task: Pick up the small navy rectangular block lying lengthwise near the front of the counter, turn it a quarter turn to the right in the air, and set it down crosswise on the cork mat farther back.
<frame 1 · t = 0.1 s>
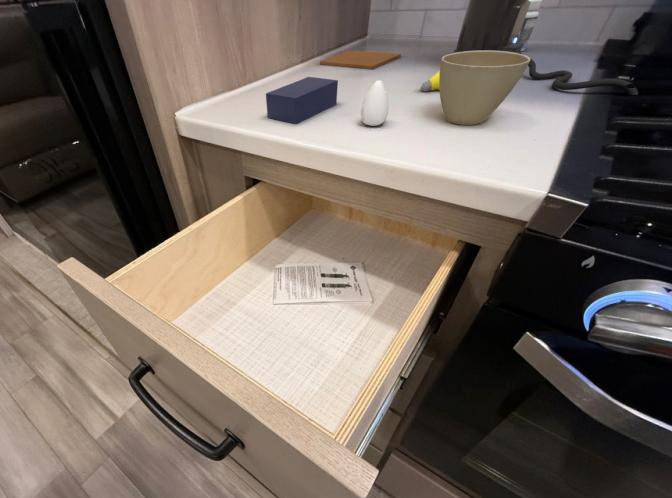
egg: (372, 125, 47), on the worktop
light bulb: (436, 91, 56), on the worktop
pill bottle: (511, 51, 72), on the worktop
mat: (359, 60, 76), on the worktop
flower pot: (463, 120, 46), on the worktop
navy rectangular block: (302, 111, 53), on the worktop
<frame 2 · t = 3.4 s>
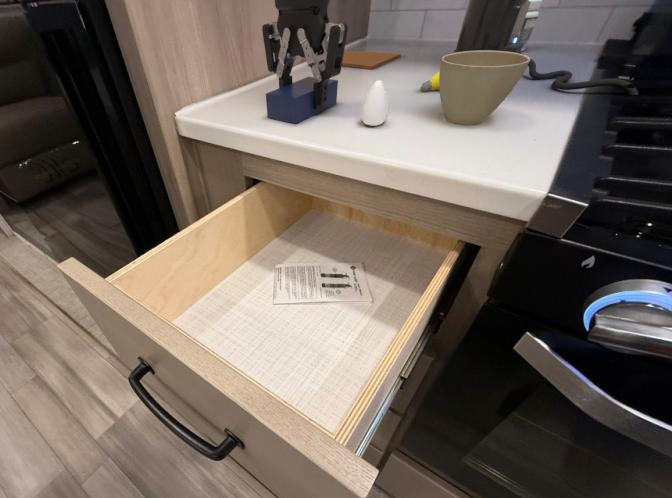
hand: (302, 105, 53), 1 cm above the worktop, tool pointing down, fingers closed on navy rectangular block, 6 cm apart
navy rectangular block: (302, 111, 53), on the worktop, touching gripper
everything else where it was.
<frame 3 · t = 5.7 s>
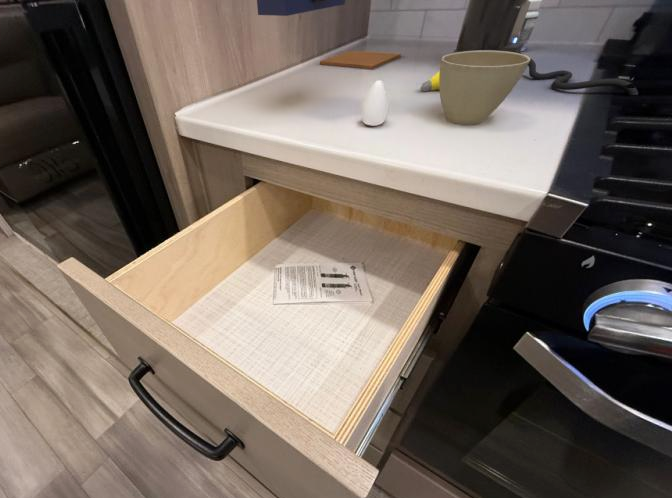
hand: (301, 1, 44), 13 cm above the worktop, tool pointing down, fingers closed on navy rectangular block, 6 cm apart
navy rectangular block: (301, 9, 45), point 13 cm above the worktop, touching gripper
everything else where it was.
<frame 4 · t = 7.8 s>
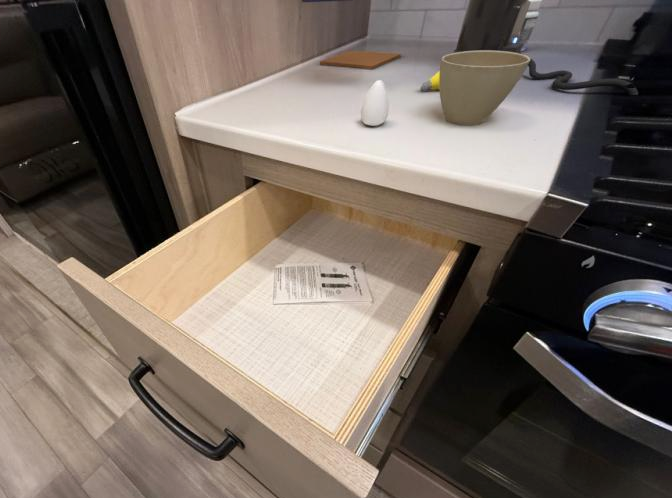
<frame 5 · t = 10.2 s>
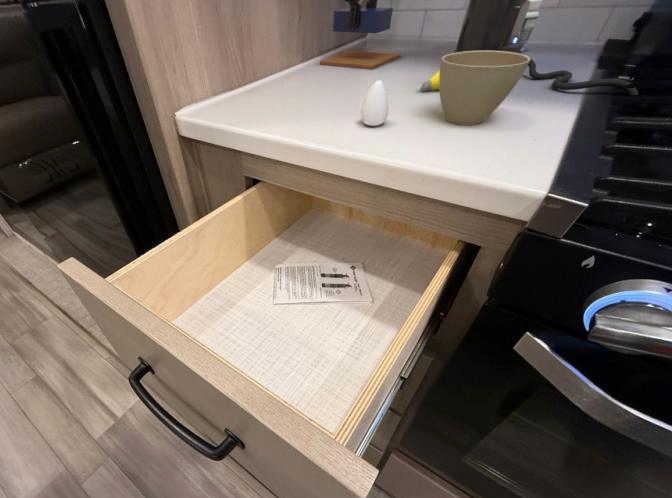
hand: (361, 25, 72), 6 cm above the worktop, tool pointing down, fingers closed on navy rectangular block, 6 cm apart
navy rectangular block: (360, 30, 72), point 6 cm above the worktop, touching gripper
everything else where it was.
when the fingers open (1 cm above the worktop, at t = 12.1 s): navy rectangular block stays where it is, resting on mat.
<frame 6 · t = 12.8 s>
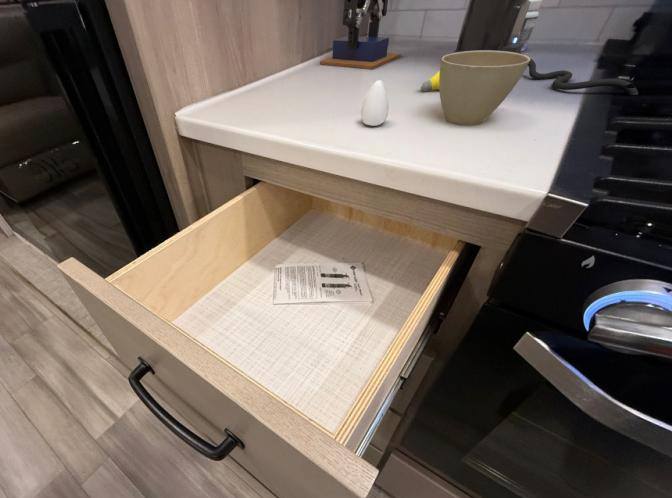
hand: (362, 45, 74), 3 cm above the worktop, tool pointing down, fingers open, 8 cm apart
navy rectangular block: (358, 57, 76), point 1 cm above the worktop, touching mat
everything else where it was.
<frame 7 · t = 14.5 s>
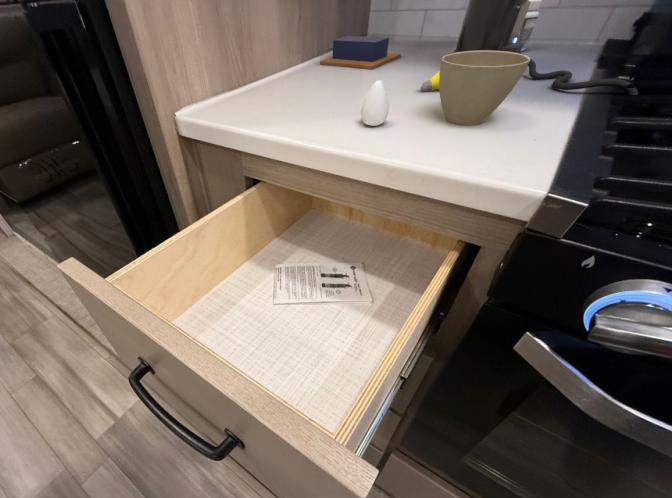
nothing on the worktop moved.
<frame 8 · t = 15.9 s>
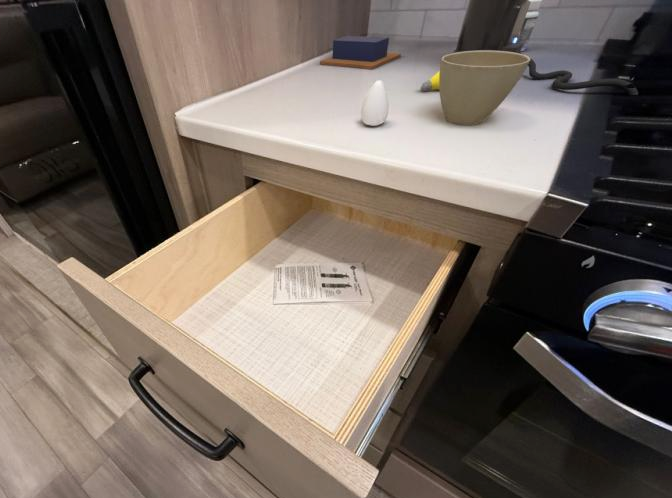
nothing on the worktop moved.
at the end: navy rectangular block inside the target area on the mat (0.3 cm from its centre), point 0.6 cm above the mat's base; navy rectangular block tilted 0°; the gripper is holding nothing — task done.
